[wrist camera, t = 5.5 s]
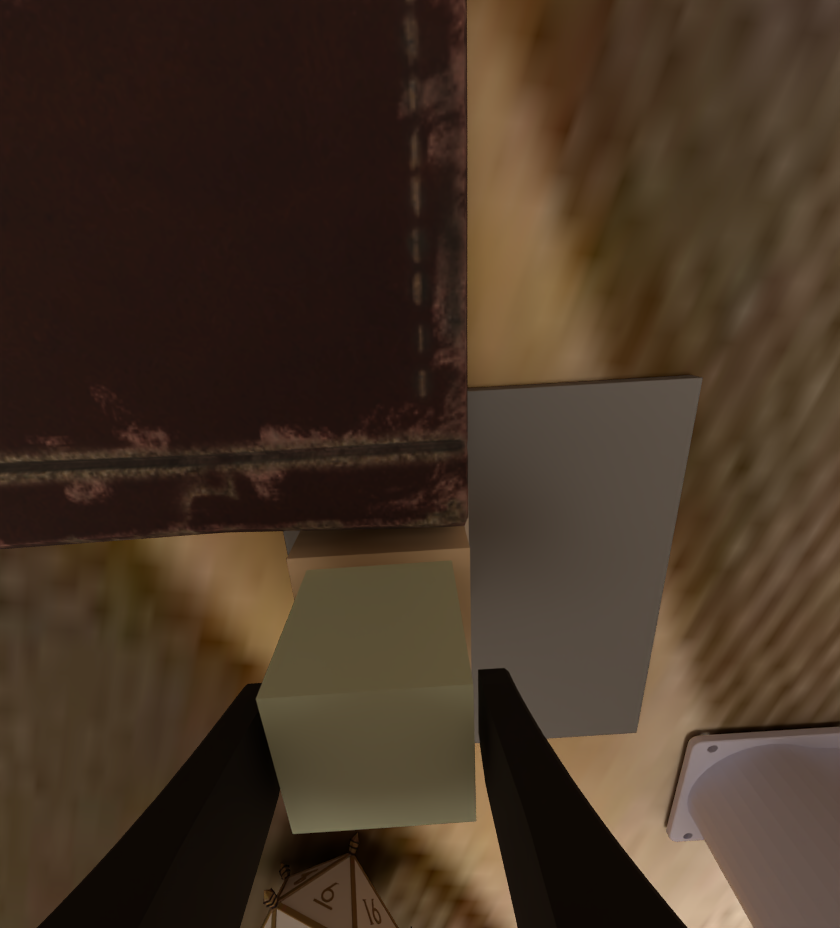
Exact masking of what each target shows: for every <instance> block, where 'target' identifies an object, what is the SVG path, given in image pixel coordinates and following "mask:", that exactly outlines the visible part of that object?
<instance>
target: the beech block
mask: <svg viewBox="0 0 840 928" xmlns="http://www.w3.org/2000/svg"><path fill="white" fill-rule="evenodd" d="M286 560H287V565H288V570H289V575H290V580H291V585H292V590H293V595H294V601H295V598H296V596H297V593H298V591H299V588H300V586H301V583H302V581H303V578H304V576H305V573H306V571H307V570H316V569H331V568H345V567H360V566H375V565H390V564H405V563H420V562H435V561H449V560H452V565H453V570H454V576H455V582H456V588H457V593H458V599H459V605H460V611H461V616H462V622H463V628H464V633H465V639H466V645H467V651H468V656H469V662H470V668H471V594H470V546H469V542H468V539H467V535H466V531H465V527H464V526H456V527H436V528H398V529H353V530H308V531H300V532H299V534H298V536H297V539H296V541H295V543H294V545H293V547H292V549H291V551H290V553H289V555H288V557H287V559H286Z"/></svg>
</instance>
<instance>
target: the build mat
mask: <svg viewBox="0 0 840 928" xmlns="http://www.w3.org/2000/svg"><path fill="white" fill-rule="evenodd" d="M702 379H703V378H702V377H697V376H693V375H685V376H668V377H651V378H634V379H617V380H600V381H582V382H565V383H548V384H531V385H514V386H497V387H480V388H467V394H468V442H467V451H468V519H467V521H466V524H465V526H464V527H465V531H466V535H467V539H468V542H469V546H470V594H471V674H472V679H473V692H474V740H475V743H480V741H479V733H478V670H479V669H495V668H505V669H506V670H508V671H509V673H510V675H511V677H512V679H513V681H514V683H515V685H516V687H517V689H518V691H519V693H520V695H521V697H522V698H523V700H524V702H525V704H526V706H527V707H528V709H529V711H530V713H531V714H532V716H533V718H534V719H535V721H536V723H537V725H538V726H539V728H540V729H541V731H542V733H543V734H544V736H545V738H546V739H547V738H562V737H578V736H594V735H609V734H625V733H636V732H637V727H638V722H639V716H640V711H641V706H642V700H643V695H644V689H645V684H646V679H647V673H648V668H649V663H650V657H651V652H652V647H653V641H654V636H655V630H656V625H657V620H658V614H659V609H660V604H661V598H662V593H663V588H664V582H665V577H666V572H667V566H668V561H669V555H670V550H671V545H672V539H673V534H674V529H675V523H676V518H677V513H678V507H679V502H680V496H681V491H682V486H683V480H684V475H685V470H686V464H687V459H688V454H689V448H690V443H691V438H692V432H693V427H694V421H695V416H696V411H697V405H698V400H699V395H700V389H701V384H702ZM299 532H300V531H283V533H284V538H285V543H286V548H287V553H288V555H289V553H290V551H291V549H292V547H293V545H294V543H295V541H296V539H297V536H298V534H299Z"/></svg>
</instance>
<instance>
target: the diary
mask: <svg viewBox="0 0 840 928" xmlns="http://www.w3.org/2000/svg"><path fill="white" fill-rule="evenodd" d="M467 442H468V394H467V0H0V549H9V548H23V547H36V546H50V545H63V544H77V543H90V542H104V541H117V540H131V539H144V538H158V537H171V536H185V535H198V534H212V533H225V532H263V531H308V530H353V529H398V528H436V527H456V526H465V524H466V521H467V519H468V451H467Z"/></svg>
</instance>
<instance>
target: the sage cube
mask: <svg viewBox="0 0 840 928" xmlns="http://www.w3.org/2000/svg"><path fill="white" fill-rule="evenodd" d="M256 702H257V705H258V709H259V713H260V716H261V720H262V724H263V727H264V731H265V735H266V738H267V742H268V746H269V749H270V753H271V757H272V760H273V764H274V767H275V771H276V775H277V778H278V782H279V786H280V789H281V793H282V797H283V800H284V804H285V808H286V811H287V815H288V819H289V822H290V826H291V829H292V833H293V834H301V833H316V832H330V831H344V830H359V829H373V828H388V827H402V826H416V825H431V824H445V823H459V822H474V821H476V789H475V740H474V692H473V679H472V674H471V668H470V662H469V656H468V651H467V645H466V639H465V633H464V628H463V622H462V616H461V611H460V605H459V599H458V593H457V588H456V582H455V576H454V570H453V565H452V560H449V561H435V562H420V563H405V564H390V565H375V566H360V567H345V568H331V569H316V570H307V571H306V573H305V576H304V578H303V581H302V583H301V586H300V588H299V591H298V593H297V596H296V598H295V601H294V604H293V606H292V609H291V611H290V614H289V616H288V619H287V621H286V624H285V626H284V629H283V631H282V634H281V636H280V639H279V641H278V644H277V647H276V649H275V652H274V654H273V657H272V659H271V662H270V664H269V667H268V669H267V672H266V674H265V677H264V679H263V682H262V684H261V687H260V690H259V692H258V695H257V697H256Z"/></svg>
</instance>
